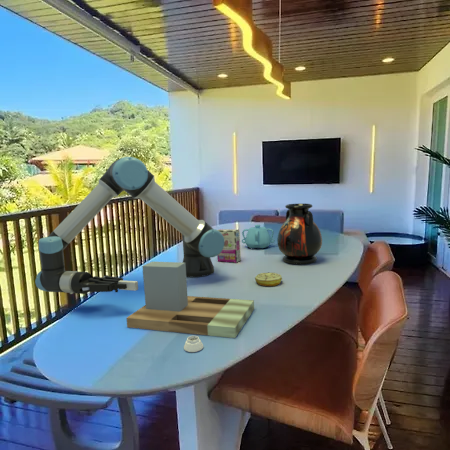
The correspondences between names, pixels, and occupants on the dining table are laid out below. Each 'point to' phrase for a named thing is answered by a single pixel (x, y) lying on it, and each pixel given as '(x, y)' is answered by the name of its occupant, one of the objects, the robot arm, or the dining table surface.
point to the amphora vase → (299, 235)
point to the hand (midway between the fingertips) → (136, 285)
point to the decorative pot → (257, 237)
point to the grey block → (165, 286)
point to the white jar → (193, 344)
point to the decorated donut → (268, 279)
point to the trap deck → (197, 317)
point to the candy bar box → (230, 246)
